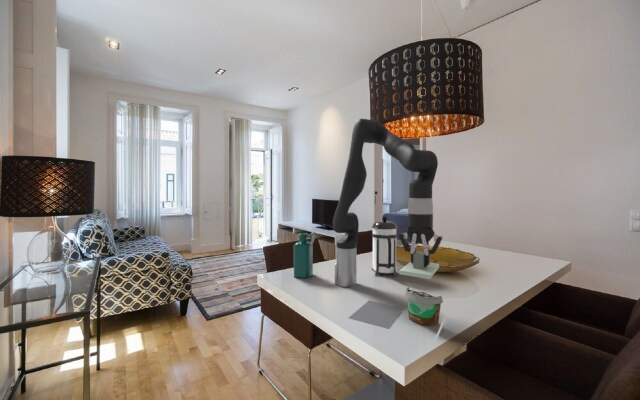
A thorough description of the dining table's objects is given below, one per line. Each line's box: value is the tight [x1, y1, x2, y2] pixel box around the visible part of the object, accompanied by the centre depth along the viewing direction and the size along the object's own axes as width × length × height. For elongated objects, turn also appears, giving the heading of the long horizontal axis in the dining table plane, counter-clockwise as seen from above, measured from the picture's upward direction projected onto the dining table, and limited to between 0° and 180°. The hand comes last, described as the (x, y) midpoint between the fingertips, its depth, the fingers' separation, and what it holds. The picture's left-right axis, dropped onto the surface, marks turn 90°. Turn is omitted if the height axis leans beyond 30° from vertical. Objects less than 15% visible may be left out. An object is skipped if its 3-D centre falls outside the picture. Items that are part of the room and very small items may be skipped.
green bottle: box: [293, 232, 316, 279], centre depth 143 cm, size 10×8×22 cm
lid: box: [398, 250, 440, 280], centre depth 90 cm, size 9×15×6 cm, turn 147°
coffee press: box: [371, 215, 398, 277], centre depth 145 cm, size 17×16×30 cm
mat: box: [348, 299, 406, 330], centre depth 98 cm, size 14×18×1 cm
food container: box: [404, 286, 444, 327], centre depth 91 cm, size 12×6×10 cm, turn 45°
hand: (420, 265), depth 91 cm, fingers closed on lid, 3 cm apart
